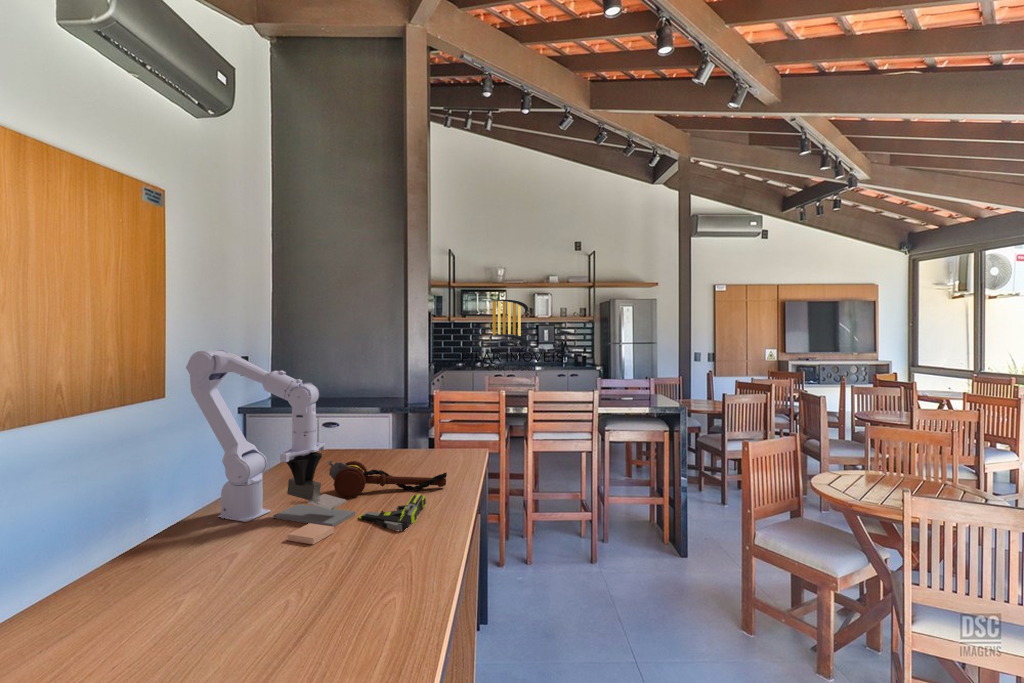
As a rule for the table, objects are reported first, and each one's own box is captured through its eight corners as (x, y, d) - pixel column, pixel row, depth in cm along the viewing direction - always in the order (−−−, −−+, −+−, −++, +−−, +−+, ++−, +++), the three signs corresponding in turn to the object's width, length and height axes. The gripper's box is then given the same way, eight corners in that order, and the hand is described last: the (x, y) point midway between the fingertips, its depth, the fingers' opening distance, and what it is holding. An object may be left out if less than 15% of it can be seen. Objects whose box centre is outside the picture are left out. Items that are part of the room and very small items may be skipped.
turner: (282, 496, 127) (283, 480, 127) (299, 489, 133) (300, 474, 133) (330, 509, 123) (332, 494, 123) (346, 502, 128) (347, 486, 128)
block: (287, 534, 113) (313, 538, 111) (309, 523, 120) (333, 526, 118) (287, 541, 113) (313, 545, 111) (309, 529, 120) (333, 533, 118)
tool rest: (273, 518, 127) (273, 515, 127) (298, 506, 136) (298, 503, 136) (332, 527, 121) (332, 523, 121) (355, 514, 130) (355, 511, 130)
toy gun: (373, 492, 139) (426, 489, 138) (374, 507, 139) (427, 504, 138) (346, 523, 119) (408, 520, 118) (348, 540, 119) (409, 537, 119)
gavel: (443, 491, 158) (445, 501, 148) (329, 488, 151) (323, 498, 141) (446, 459, 158) (448, 467, 148) (332, 455, 151) (326, 463, 141)
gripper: (296, 437, 121) (296, 493, 121) (335, 426, 134) (335, 477, 135) (272, 435, 123) (273, 490, 123) (313, 425, 137) (313, 474, 137)
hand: (304, 483), depth 129 cm, fingers closed on turner, 3 cm apart
